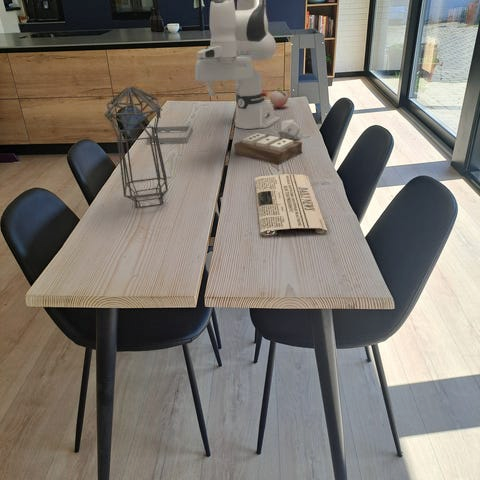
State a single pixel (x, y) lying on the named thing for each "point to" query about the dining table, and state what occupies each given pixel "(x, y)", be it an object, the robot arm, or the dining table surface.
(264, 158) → the button panel
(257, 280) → the dining table surface
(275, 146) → the button two
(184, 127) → the frame
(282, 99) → the decorative fruit
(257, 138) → the button three
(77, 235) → the dining table surface
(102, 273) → the dining table surface
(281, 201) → the newspaper
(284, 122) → the grey rock
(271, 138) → the button one
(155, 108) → the geometric lantern
